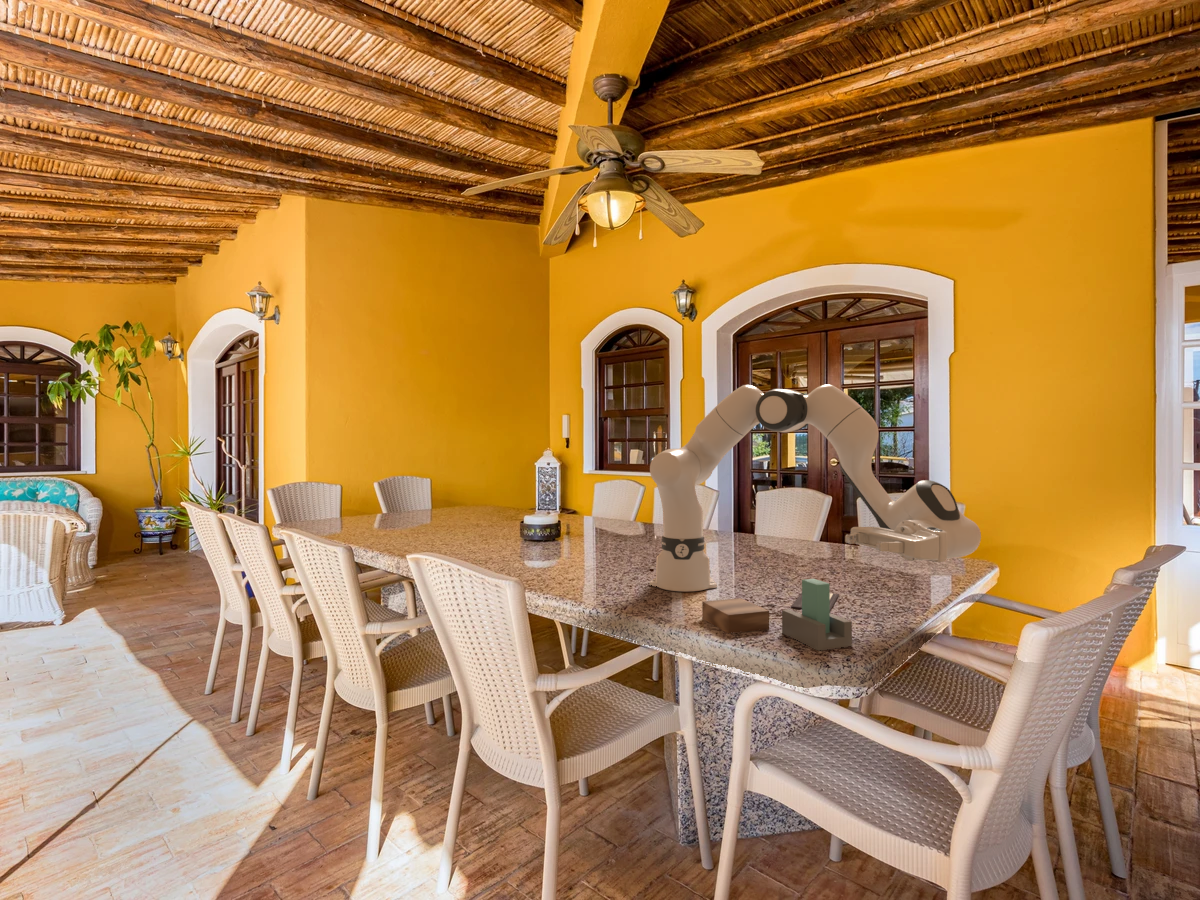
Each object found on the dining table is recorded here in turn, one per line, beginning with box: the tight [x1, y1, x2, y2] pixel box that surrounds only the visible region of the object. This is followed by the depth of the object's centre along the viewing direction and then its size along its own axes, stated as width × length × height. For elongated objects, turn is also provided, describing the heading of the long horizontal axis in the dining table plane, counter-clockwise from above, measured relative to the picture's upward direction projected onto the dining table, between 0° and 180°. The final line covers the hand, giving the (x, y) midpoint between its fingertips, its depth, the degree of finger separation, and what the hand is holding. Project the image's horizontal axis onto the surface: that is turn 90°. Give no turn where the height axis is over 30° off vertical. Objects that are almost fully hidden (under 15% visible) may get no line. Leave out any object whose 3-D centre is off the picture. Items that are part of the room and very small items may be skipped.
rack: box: [781, 608, 853, 652], centre depth 131 cm, size 12×8×5 cm, turn 18°
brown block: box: [701, 597, 770, 635], centre depth 142 cm, size 12×10×4 cm
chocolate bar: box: [790, 592, 840, 612], centre depth 161 cm, size 9×1×18 cm
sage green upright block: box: [801, 578, 831, 633], centre depth 131 cm, size 5×3×10 cm, turn 18°
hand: (862, 542), depth 135 cm, fingers open, 8 cm apart
